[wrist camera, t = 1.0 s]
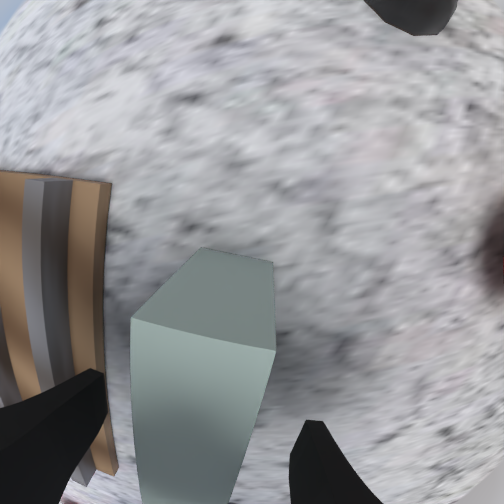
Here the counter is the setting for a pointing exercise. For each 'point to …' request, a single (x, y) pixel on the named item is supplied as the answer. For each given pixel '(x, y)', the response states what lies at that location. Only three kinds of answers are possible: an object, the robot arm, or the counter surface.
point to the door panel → (200, 376)
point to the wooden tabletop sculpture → (415, 14)
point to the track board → (53, 292)
